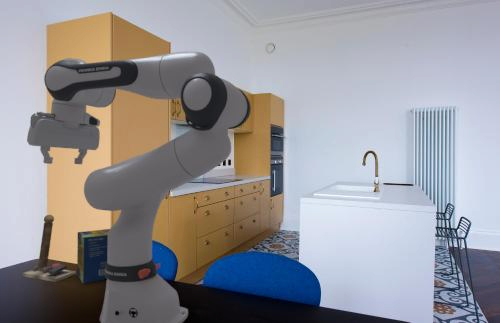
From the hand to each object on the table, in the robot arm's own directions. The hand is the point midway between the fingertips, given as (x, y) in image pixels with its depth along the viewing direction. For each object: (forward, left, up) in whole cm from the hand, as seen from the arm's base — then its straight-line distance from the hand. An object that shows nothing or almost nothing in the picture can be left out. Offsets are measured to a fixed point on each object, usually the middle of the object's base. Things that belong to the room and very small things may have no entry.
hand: (63, 163), depth 97 cm
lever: (+27, -15, -37) cm, 48 cm away
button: (+22, -16, -38) cm, 47 cm away
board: (+23, -15, -40) cm, 48 cm away
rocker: (+19, -14, -37) cm, 43 cm away
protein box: (+6, -22, -40) cm, 46 cm away
